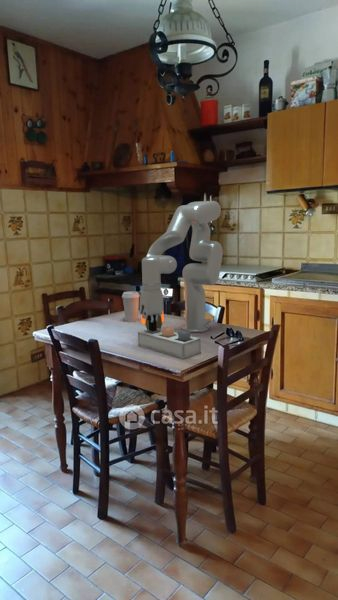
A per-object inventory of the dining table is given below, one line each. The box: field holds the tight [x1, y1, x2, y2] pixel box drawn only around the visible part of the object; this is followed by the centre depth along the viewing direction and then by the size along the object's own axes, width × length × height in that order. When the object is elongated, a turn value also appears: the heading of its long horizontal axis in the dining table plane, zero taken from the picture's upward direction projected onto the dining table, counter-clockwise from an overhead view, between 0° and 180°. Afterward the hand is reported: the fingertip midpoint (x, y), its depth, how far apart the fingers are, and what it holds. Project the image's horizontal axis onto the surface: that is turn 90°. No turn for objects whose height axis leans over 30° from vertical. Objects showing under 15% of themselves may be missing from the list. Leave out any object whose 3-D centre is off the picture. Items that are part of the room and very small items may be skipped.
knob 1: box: [146, 329, 159, 334], centre depth 179 cm, size 5×5×5 cm
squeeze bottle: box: [144, 316, 163, 330], centre depth 200 cm, size 8×8×18 cm
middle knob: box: [161, 326, 175, 338], centre depth 172 cm, size 5×5×5 cm
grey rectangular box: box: [137, 328, 202, 360], centre depth 173 cm, size 10×26×6 cm, turn 45°
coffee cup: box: [121, 290, 141, 323], centre depth 224 cm, size 10×10×15 cm
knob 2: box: [177, 329, 191, 342], centre depth 166 cm, size 5×5×5 cm
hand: (152, 330), depth 179 cm, fingers closed
